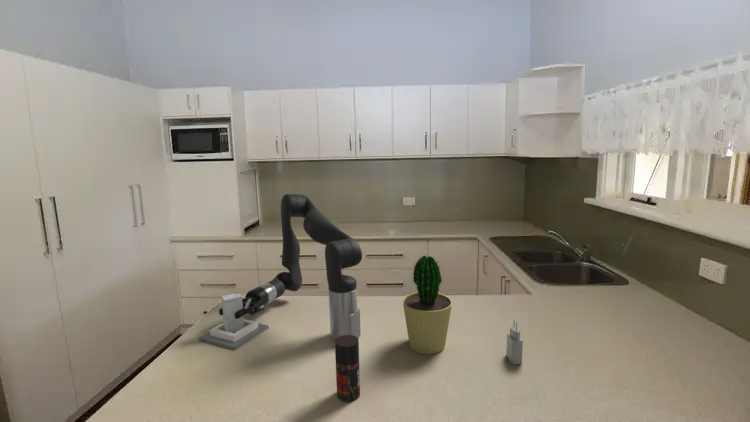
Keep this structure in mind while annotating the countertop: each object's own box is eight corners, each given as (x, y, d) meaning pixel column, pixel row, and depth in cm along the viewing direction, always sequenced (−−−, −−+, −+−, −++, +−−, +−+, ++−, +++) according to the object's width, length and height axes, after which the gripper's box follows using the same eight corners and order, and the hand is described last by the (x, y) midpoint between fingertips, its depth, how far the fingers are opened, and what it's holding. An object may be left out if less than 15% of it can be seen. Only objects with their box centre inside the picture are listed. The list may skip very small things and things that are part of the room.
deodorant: (337, 388, 102) (335, 335, 99) (359, 386, 102) (358, 334, 100) (336, 403, 96) (334, 347, 93) (360, 401, 96) (359, 345, 94)
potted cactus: (461, 343, 123) (462, 252, 118) (433, 363, 112) (434, 264, 107) (422, 328, 134) (422, 244, 129) (393, 345, 123) (392, 255, 118)
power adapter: (515, 353, 117) (517, 316, 115) (522, 363, 111) (524, 325, 109) (505, 354, 116) (506, 317, 114) (512, 364, 111) (513, 325, 109)
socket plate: (268, 328, 136) (268, 320, 136) (234, 350, 122) (234, 341, 122) (234, 320, 143) (234, 312, 143) (199, 340, 129) (198, 331, 128)
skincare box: (226, 334, 129) (223, 300, 127) (223, 329, 133) (220, 296, 131) (245, 329, 132) (242, 296, 130) (242, 324, 136) (239, 291, 134)
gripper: (246, 284, 146) (211, 300, 132) (276, 289, 140) (242, 307, 126) (247, 302, 148) (213, 321, 133) (277, 308, 142) (244, 328, 127)
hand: (227, 314), depth 129 cm, fingers closed on skincare box, 6 cm apart
